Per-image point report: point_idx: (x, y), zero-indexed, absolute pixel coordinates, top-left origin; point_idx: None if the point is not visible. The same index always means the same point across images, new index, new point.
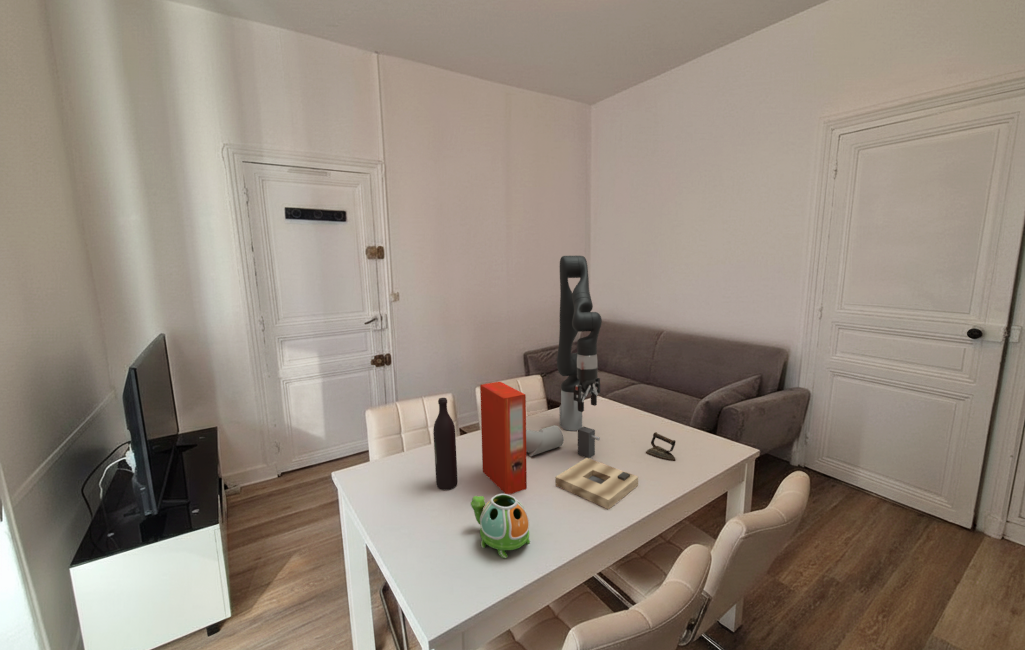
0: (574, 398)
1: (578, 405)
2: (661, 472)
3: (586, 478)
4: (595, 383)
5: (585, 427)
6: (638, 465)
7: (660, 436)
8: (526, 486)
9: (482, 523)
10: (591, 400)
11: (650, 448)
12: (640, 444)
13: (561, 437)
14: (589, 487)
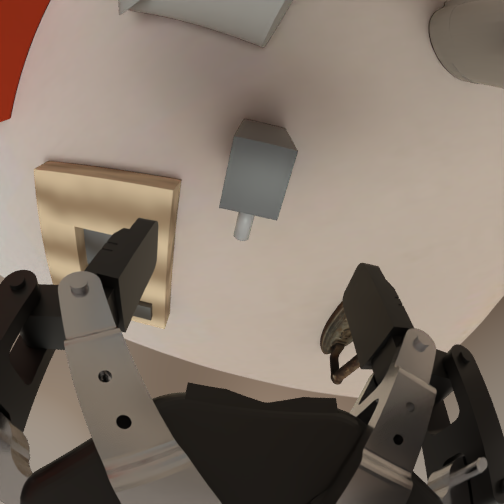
0: (2, 299)
1: (98, 263)
2: (254, 339)
3: (75, 238)
4: (430, 480)
5: (286, 165)
6: (264, 299)
7: (356, 362)
8: (6, 119)
9: None
10: (370, 294)
11: None
12: (396, 277)
13: (250, 39)
14: (55, 256)
